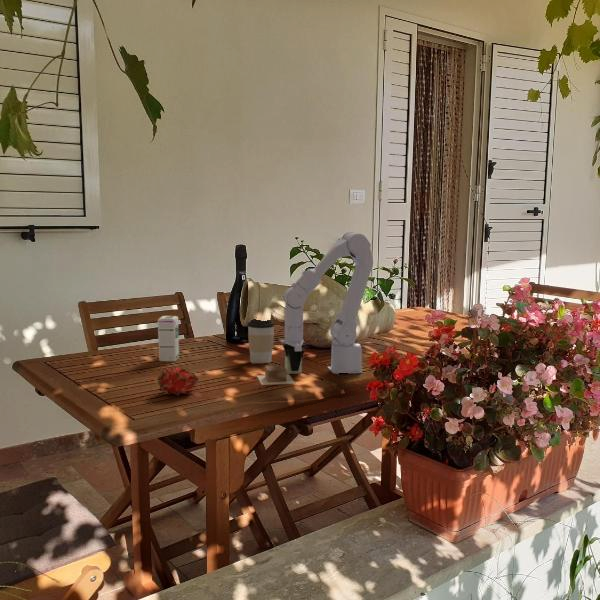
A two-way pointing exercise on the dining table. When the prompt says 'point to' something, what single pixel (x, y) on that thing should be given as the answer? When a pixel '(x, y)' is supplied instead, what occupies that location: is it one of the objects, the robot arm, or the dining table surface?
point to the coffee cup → (260, 340)
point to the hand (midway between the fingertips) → (293, 368)
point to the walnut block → (275, 373)
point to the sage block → (288, 367)
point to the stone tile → (265, 382)
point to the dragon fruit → (177, 381)
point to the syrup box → (168, 338)
